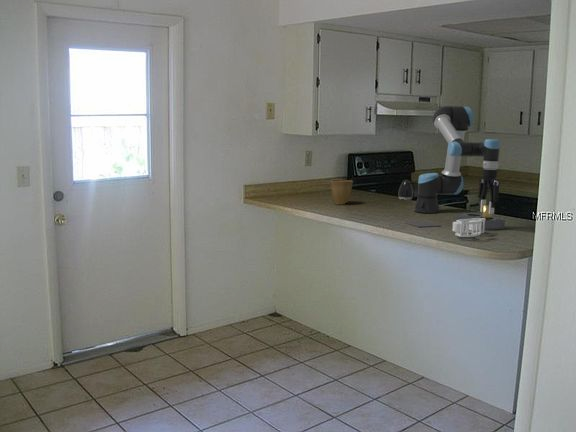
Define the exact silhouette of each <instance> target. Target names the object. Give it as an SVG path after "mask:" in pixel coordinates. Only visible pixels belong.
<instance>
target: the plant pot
mask: <svg viewBox="0 0 576 432" xmlns="http://www.w3.org/2000/svg"><path fill="white" fill-rule="evenodd" d="M353 183H354V181H353V180H351V179H349V180H348V179H331V180H330V189H331V195H332V199H333V201H334V204H335V203H339V204H345V203H348V201H349V198H350V195H351V192H352V188H353Z"/></svg>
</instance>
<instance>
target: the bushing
mask: <svg viewBox="0 0 576 432" xmlns="http://www.w3.org/2000/svg"><path fill="white" fill-rule="evenodd" d="M481 214H482V218H485V219H492V217H493V216H492V215H493V214H489V204H486V205H483V207H482V212H481Z"/></svg>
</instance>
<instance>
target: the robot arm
mask: <svg viewBox="0 0 576 432" xmlns="http://www.w3.org/2000/svg"><path fill="white" fill-rule="evenodd" d="M474 118H475V117H474V112H473V109H472V108H470V107H469V106H466V105H464V106H463V105H461V106H459V105H444V106H441V107H439V108H437V109H436V110H435V112H434V113H433V115H432V123H433V125H434V127H435V129H437V130H439V132H440V133H441V134H442V136H443V138H444V139H445V141H446V143H447V151H446V157H445V165H444V169H443V170H442V171H441V175H440V174H439V173H437V172H429V173H422V174H420V175H419V176H418V181H417V199H416V201H415V205H414V206H413V211H414V212H417V213H423V214H434V213H435V214H436V213H440V205H439V203H438V195H448V196H449V195H450V196H451V195H452V196H453V195H459V194H460V193H461V191H462V190H463V188H464V183H465V182H464V177H463V176H462V173H461V172H460V168H461V161H462V157H479V158H480V157H482V159H483V162H482V172H481V173H482V174H481V176H482V177H483V179H479V180H478V182H479V186H478V194H477V198H479V199H480V210H479V211H480V213H482V207H483V205H487V198H486V197H487V194H488V191H489V197H490V200H489V204H488V205H489V214H492V215H494V214H495V208H496V202H497V201H499V200H500V199H499V197H500V196H499V195H500V184H501V183H500V181H497V177H498V169H499V157H500V156H499V155H500V148H501V147H500V140H499V139H491V138H488V139H486V138H485V140H484V141H483V142H481V141H479V142H475V141H474V142H471V141H470V142H469V141H468V142H467V141H464V140H465V134H466V132H468V131H469V128H470V127H472V126H473V124H474Z"/></svg>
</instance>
